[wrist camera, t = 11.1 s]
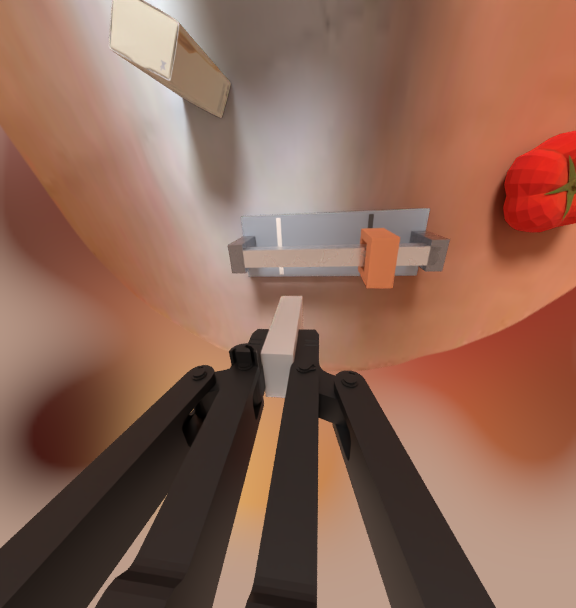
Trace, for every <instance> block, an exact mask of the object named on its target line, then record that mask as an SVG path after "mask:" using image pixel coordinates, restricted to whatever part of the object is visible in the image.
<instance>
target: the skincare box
mask: <svg viewBox="0 0 576 608" xmlns="http://www.w3.org/2000/svg"><path fill="white" fill-rule="evenodd" d="M109 48H110V49H111V50H112V51H113V52H115V53H116V54H118V55H119V56H121V57H122V58H124V59H125V60H127V61H128V62H130V63H131V64H133V65H134V66H136V67H137V68H139V69H140V70H142V71H143V72H145V73H146V74H148V75H149V76H151V77H152V78H154V79H155V80H157V81H158V82H160V83H161V84H163V85H164V86H166V87H167V88H169V89H170V90H172V91H173V92H175V93H176V94H178V95H179V96H181V97H182V98H184V99H185V100H187V101H189V102H191V103H192V104H194V105H196V106H198V107H200V108H202V109H203V110H205V111H207V112H209V113H211V114H213V115H215V116H217V117H219V118H222V116H223V112H224V109H225V105H226V101H227V98H228V93H229V89H230V85H231V83H230V81H229V80H228V79H227V78H226V77H225V75H224V74H223V73H222V72H221V71H220V70H219V69H218V67H217V66H216V65H215V64H214V63H213V61H212V60H211V59H210V58H209V57H208V56H207V55H206V53H205V52H204V51H203V50H202V49H201V48H200V46H199V45H198V44H197V43H196V42H195V41H194V40H193V38H192V37H191V36H190V35H189V34H188V33H187V31H186V30H185V29H184V28H183V27H182V26H181V24H180V23H179V22H178V21H177V20H175V19H174V18H172V17H171V16H169V15H168V14H166V13H164V12H163V11H161V10H160V9H158V8H156V7H154V6H152V5H151V4H149V3H147V2H145V1H143V0H112V10H111V23H110V34H109Z"/></svg>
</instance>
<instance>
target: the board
mask: <svg viewBox="0 0 576 608" xmlns="http://www.w3.org/2000/svg"><path fill="white" fill-rule="evenodd" d="M429 211H430V209H429V208H419V209H396V210H373V211H349V212H326V213H302V214H279V215H255V216H241V223H242V230H243V236H255V239H256V247H266V246H307V245H348V244H360V238H361V229H364V228H385V229H386V230H388V231H390V232H392V233H393V234H395V235H397V236H399V237H400V243H409V241H410V236H411V231H423V230H426V226H427V221H428V216H429ZM417 271H418V266H396V269H395V275H394V276H409V275H417ZM274 276H361V275H360V273H359V271H358V266H342V267H262V268H250V269H249V270H248V277H274Z"/></svg>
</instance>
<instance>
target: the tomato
mask: <svg viewBox="0 0 576 608" xmlns="http://www.w3.org/2000/svg"><path fill="white" fill-rule="evenodd" d="M504 186H505V191H506V199H505V202H504V206H503V210H504V217H505V221H506V222H507V223H508V224H509V225H510V226H511V227H512V228H514V229H516V230H520V231H525V232H542V231H545V230H549V229H552V228H555V227H559V226H564V225H569V224H574V223H576V131H572V132H567V133H562V134H559V135H557V136H554V137H552V138H550V139H548V140H547V141H545V142H544V143H542V144H540V145H539V146H537V147H536V148H534V149H533V150H531V151H529V152H527V153H525V154H523V155H521V156H519V157H517V158H516V159H515V161H514V163H513V164H512V166H511V167H510V169H509V170H508V172H507V175H506V179H505V183H504Z"/></svg>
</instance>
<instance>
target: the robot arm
mask: <svg viewBox="0 0 576 608" xmlns="http://www.w3.org/2000/svg"><path fill="white" fill-rule="evenodd" d="M229 354H230V359H231V364H232V366H231V368H230V369H227V370H223V371H217V372H214V369H213V368H212V367H210V366H208V365H202V366H197V367H195V368H193V369H191V370H190V371H189V372H187V373H186V374H185V375H184V376H183V377H182V378H181V379H180V380H179V381H178V382H177V383H176V384H175V385H174V386H173V387H172V388H170V389H169V391H167V392H166V393H165V394H164V395H163V396H162V397H161V398H160V399H159V400H158V401H157V402H156V403H155V404H154V405H152V406H151V407H150V408H149V409H148V410H147V411H146V412H145V413H144V414H143V415H142V416H141V417H140V418H139V419H137V420H136V421H135V422H134V423H133V424H132V425H131V426H130V427H129V428H128V429H127V430H126V431H125V432H124V433H123V434H122V435H120V436H119V438H117V439H116V440H115V441H114V442H113V443H112V444H111V445H110V446H109V447H108V448H107V449H106V450H105V451H104V452H102V453H101V454H100V455H99V456H98V457H97V458H96V459H95V460H94V461H93V462H92V463H91V464H90V465H89V466H88V467H86V468H85V469H84V470H83V471H82V472H81V473H80V474H79V475H78V476H77V477H76V478H75V479H74V480H73V481H72V482H70V484H68V485H67V486H66V487H65V488H64V489H63V490H62V491H61V492H60V493H59V494H58V495H57V496H56V497H55V498H53V499H52V500H51V501H50V502H49V503H48V504H47V505H46V506H45V507H44V508H43V509H42V510H41V511H40V512H39V513H38V514H37V515H35V516H34V517H33V518H32V519H31V520H30V521H29V522H28V523H27V524H26V525H25V526H24V527H23V528H22V529H21V530H19V531H18V532H17V534H15V535H14V536H13V537H12V538H11V539H10V540H9V541H8V542H7V543H6V544H5V545H3V546H2V548H0V608H87V607H88V605H89V604H90V602H91V601H92V600H93V598H94V597H95V595H96V594H97V593H98V591H99V590H100V588H101V587H102V585H103V584H104V582H105V581H106V580H107V578H108V577H109V575H110V574H111V573H112V571H113V570H114V568H115V567H116V566H117V564H118V563H119V561H120V560H121V559H122V557H123V556H124V554H125V553H126V552H127V550H128V549H129V547H130V546H131V545H132V543H133V542H134V540H135V539H136V537H137V536H138V535H139V533H140V532H141V530H142V529H143V528H144V526H145V525H146V523H147V522H148V521H149V519H150V518H151V516H152V515H153V514H154V512H155V511H156V509H157V508H158V506H159V505H160V504H161V502H162V501H163V499H164V498H165V497H166V498H165V500H164V502H163V504H162V506H161V508H160V510H159V512H158V514H157V516H156V518H155V520H154V523H153V524H152V526H151V528H150V530H149V532H148V534H147V536H146V538H145V540H144V542H143V545H142V546H141V548H140V550H139V553H138V555H137V556H136V558H135V560H134V562H133V563H132V565H131V566H130V568H128V570H127V571H125V572H124V573H122V574H121V575H119V576H118V577H117V578H115V579H114V580H113V582H112V583H111V584H110V585H109V586H108V588H107V589H106V590H105V592H104V593H103V595H102V597H101V598H100V600H99V602H98V603H97V605H96V607H95V608H212V606H213V602H214V598H215V594H216V590H217V585H218V582H219V578H220V574H221V571H222V567H223V563H224V559H225V554H226V551H227V547H228V543H229V539H230V535H231V531H232V527H233V523H234V519H235V516H236V512H237V508H238V504H239V500H240V496H241V492H242V488H243V484H244V481H245V477H246V473H247V469H248V465H249V461H250V457H251V453H252V449H253V446H254V441H255V438H256V434H257V430H258V426H259V422H260V418H261V414H262V410H263V406H264V400H263V395H264V392H265V393H266V396H267V397H281V398H285V402H284V407H283V413H282V419H281V426H280V431H279V437H278V443H277V449H276V455H275V461H274V467H273V472H272V478H271V485H270V490H269V497H268V502H267V508H266V514H265V520H264V526H263V531H262V538H261V543H260V549H259V555H258V561H257V567H256V573H255V578H254V583H253V587H252V591H251V594H250V596H249V598H248V600H247V603H246V607H245V608H317V528H318V527H317V525H318V518H317V517H318V418H321V419H324V420H326V421H329V422H332V423H333V428H334V431H335V434H336V437H337V440H338V443H339V446H340V450H341V453H342V456H343V459H344V462H345V465H346V468H347V471H348V474H349V477H350V480H351V484H352V487H353V489H354V493H355V496H356V499H357V502H358V505H359V509H360V512H361V515H362V518H363V521H364V524H365V527H366V530H367V533H368V537H369V539H370V543H371V546H372V549H373V552H374V555H375V558H376V561H377V564H378V568H379V571H380V574H381V577H382V580H383V583H384V586H385V589H386V592H387V596H388V599H389V602H390V605H391V608H496V607H495V605H494V604H493V602H492V600H491V598H490V597H489V595H488V594H487V591H486V590H485V588H484V586H483V585H482V583H481V581H480V579H479V578H478V576H477V574H476V572H475V571H474V569H473V567H472V565H471V564H470V562H469V560H468V558H467V557H466V555H465V553H464V551H463V550H462V548H461V546H460V545H459V543H458V541H457V539H456V537H455V536H454V534H453V532H452V531H451V529H450V527H449V525H448V524H447V522H446V520H445V518H444V517H443V515H442V513H441V511H440V509H439V508H438V506H437V504H436V503H435V501H434V499H433V497H432V496H431V494H430V492H429V491H428V489H427V487H426V485H425V483H424V482H423V480H422V478H421V476H420V475H419V473H418V471H417V469H416V468H415V466H414V464H413V462H412V461H411V459H410V457H409V455H408V454H407V452H406V450H405V449H404V447H403V445H402V443H401V442H400V440H399V438H398V436H397V435H396V433H395V431H394V429H393V428H392V426H391V424H390V422H389V421H388V419H387V417H386V416H385V414H384V412H383V410H382V408H381V407H380V405H379V403H378V402H377V400H376V398H375V396H374V395H373V393H372V391H371V389H370V388H369V386H368V384H367V382H366V381H365V379H364V378H363V377H362V376H361V375H360V374H358V373H357V372H353V371H342V372H339V373H338V374H336V376H335V375H331V374H329V373H327V372H325V371H323V370H322V369H321V367H320V366H319V334H318V333H317V331H316V330H303V301H302V296H281V298H280V301H279V304H278V307H277V309H276V312H275V315H274V318H273V320H272V323H271V326H270V329H257V330H256V331H255V332H254V333H253V334H252V336H251V338H250V340H249V342H248V344H247V343H246V344H239V345H236V346H234V347H233V348H231V350H230V351H229ZM193 409H194V410H193ZM192 410H193V411H192ZM191 411H192V412H191ZM190 412H191V413H190ZM166 495H167V496H166Z"/></svg>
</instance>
